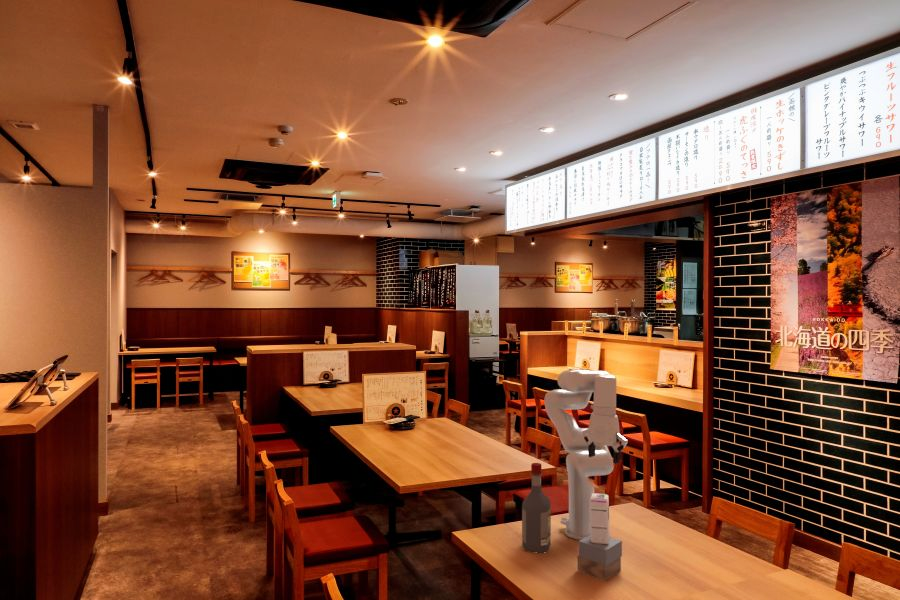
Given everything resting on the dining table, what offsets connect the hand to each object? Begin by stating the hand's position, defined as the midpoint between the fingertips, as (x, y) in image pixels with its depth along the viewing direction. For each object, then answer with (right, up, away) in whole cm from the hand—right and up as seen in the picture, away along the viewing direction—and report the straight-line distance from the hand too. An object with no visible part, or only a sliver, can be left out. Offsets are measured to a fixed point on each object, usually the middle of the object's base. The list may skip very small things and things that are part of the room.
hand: (603, 459), depth 201 cm
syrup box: (-4, -24, -10) cm, 26 cm away
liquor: (-22, -34, +7) cm, 41 cm away
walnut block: (-4, -34, -11) cm, 36 cm away
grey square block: (-4, -29, -11) cm, 31 cm away
